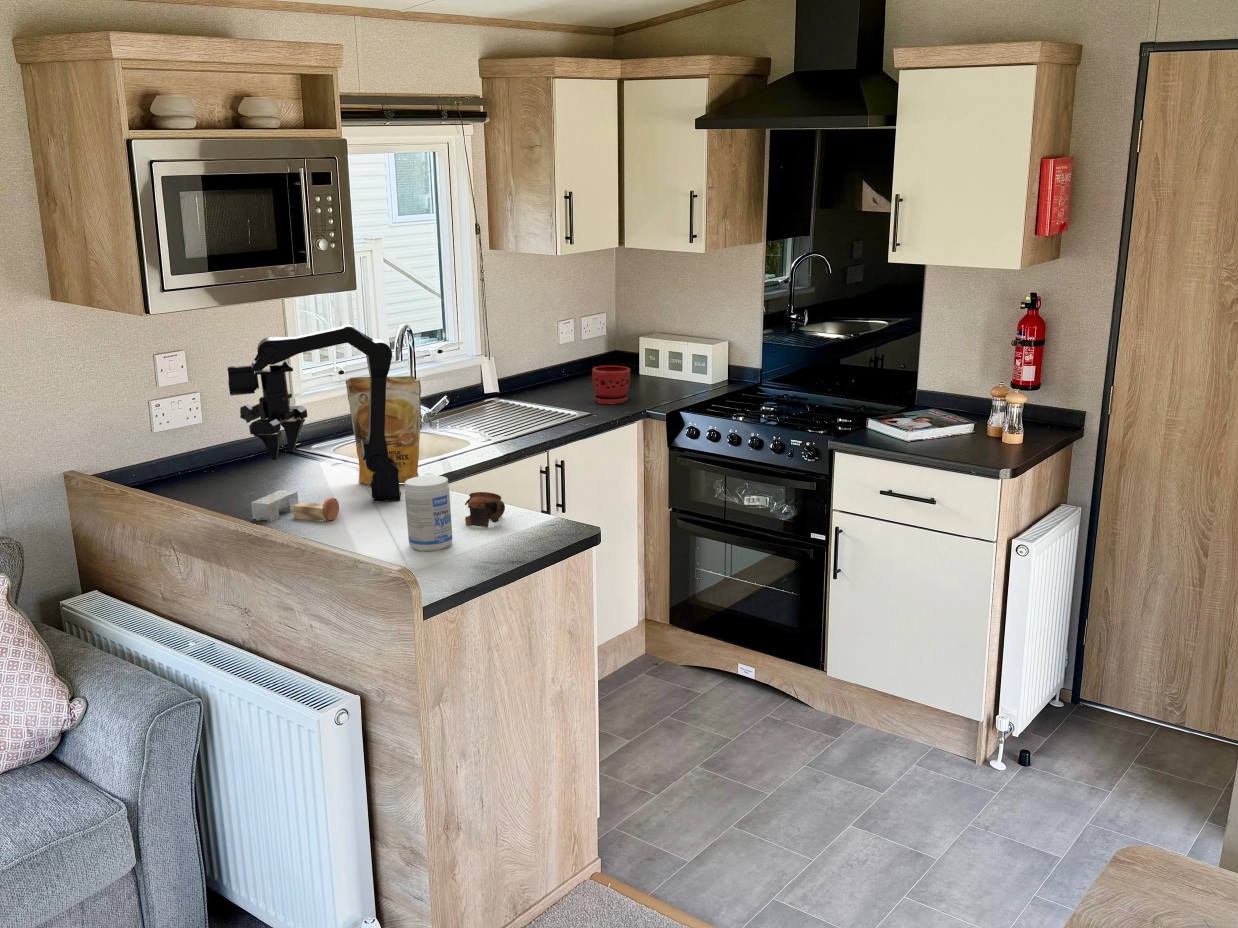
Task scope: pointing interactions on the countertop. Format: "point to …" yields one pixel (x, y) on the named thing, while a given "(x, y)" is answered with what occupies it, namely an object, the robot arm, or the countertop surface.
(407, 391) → the pancake mix bag
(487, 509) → the pottery mug
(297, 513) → the lynch pin
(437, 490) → the supplement tub
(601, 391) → the plant pot
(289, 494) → the block
